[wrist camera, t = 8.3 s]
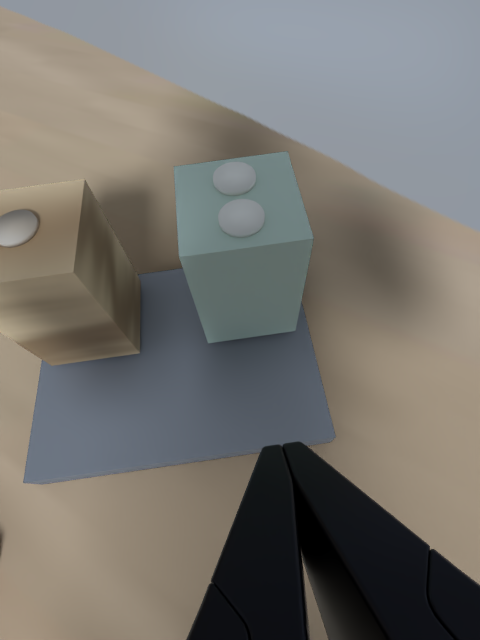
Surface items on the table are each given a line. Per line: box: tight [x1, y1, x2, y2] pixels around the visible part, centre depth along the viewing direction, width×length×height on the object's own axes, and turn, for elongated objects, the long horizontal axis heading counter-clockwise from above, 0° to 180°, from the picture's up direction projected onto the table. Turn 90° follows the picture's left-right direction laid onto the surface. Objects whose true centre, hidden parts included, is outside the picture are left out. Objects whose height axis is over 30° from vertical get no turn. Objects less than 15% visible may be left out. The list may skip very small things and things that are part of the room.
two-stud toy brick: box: [174, 151, 314, 343], centre depth 15 cm, size 4×4×7 cm
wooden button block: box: [0, 179, 141, 366], centre depth 15 cm, size 4×4×7 cm
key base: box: [23, 268, 336, 484], centre depth 18 cm, size 10×14×2 cm
